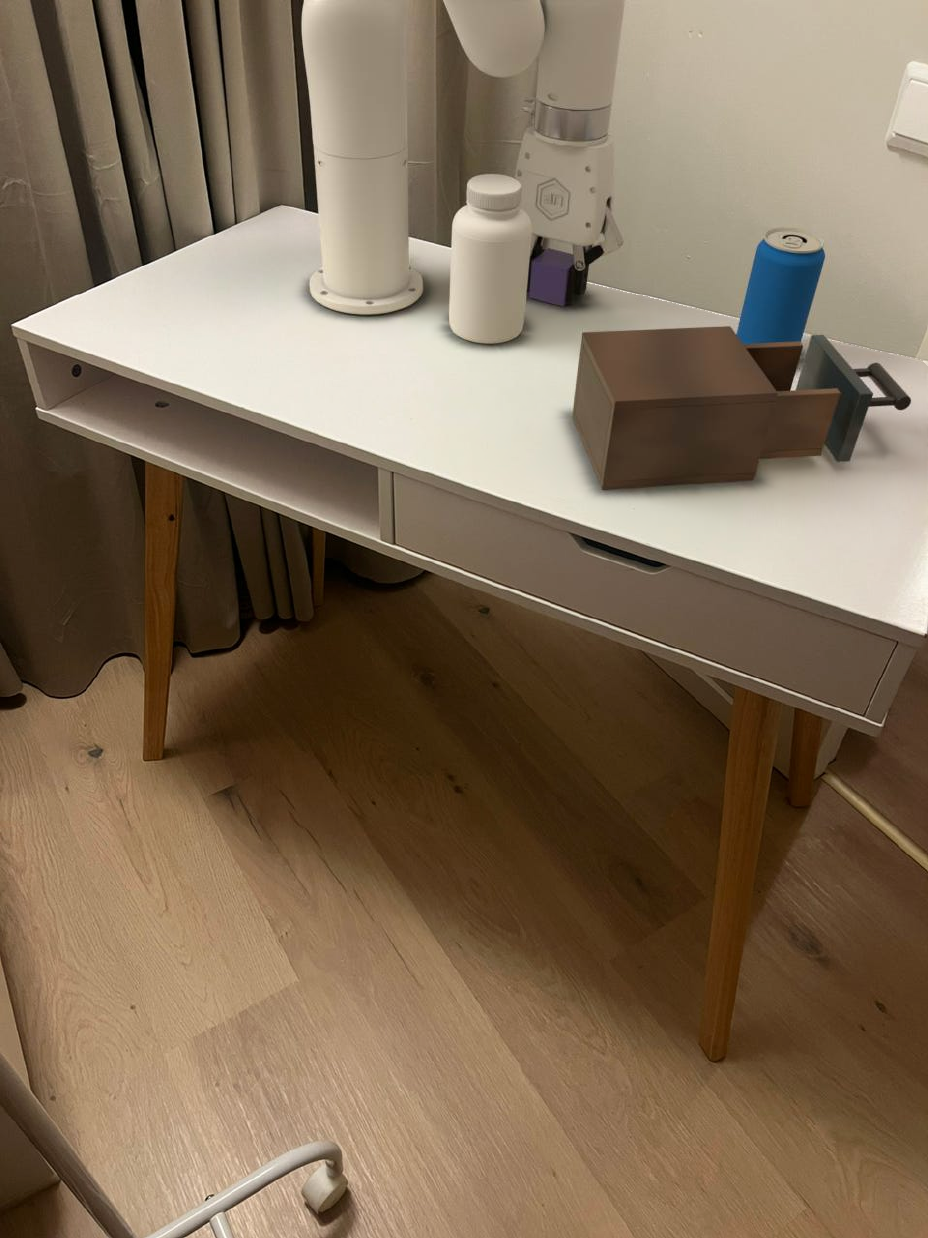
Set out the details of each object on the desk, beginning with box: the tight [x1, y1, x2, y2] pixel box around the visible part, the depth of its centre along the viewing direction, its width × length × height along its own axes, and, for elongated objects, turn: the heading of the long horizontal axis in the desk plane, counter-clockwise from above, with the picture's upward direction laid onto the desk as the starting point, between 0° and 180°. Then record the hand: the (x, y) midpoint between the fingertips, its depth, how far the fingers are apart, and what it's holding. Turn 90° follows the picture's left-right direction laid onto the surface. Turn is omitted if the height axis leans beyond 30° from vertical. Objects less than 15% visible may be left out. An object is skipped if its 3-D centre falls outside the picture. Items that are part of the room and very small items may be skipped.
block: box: [528, 247, 574, 308], centre depth 110 cm, size 4×4×4 cm
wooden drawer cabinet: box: [571, 325, 778, 490], centre depth 87 cm, size 14×12×9 cm
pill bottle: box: [448, 173, 532, 344], centre depth 100 cm, size 8×8×15 cm
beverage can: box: [735, 226, 826, 344], centre depth 99 cm, size 6×6×12 cm
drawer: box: [743, 334, 912, 463], centre depth 88 cm, size 18×10×7 cm, turn 98°
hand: (553, 292), depth 111 cm, fingers closed on block, 4 cm apart
